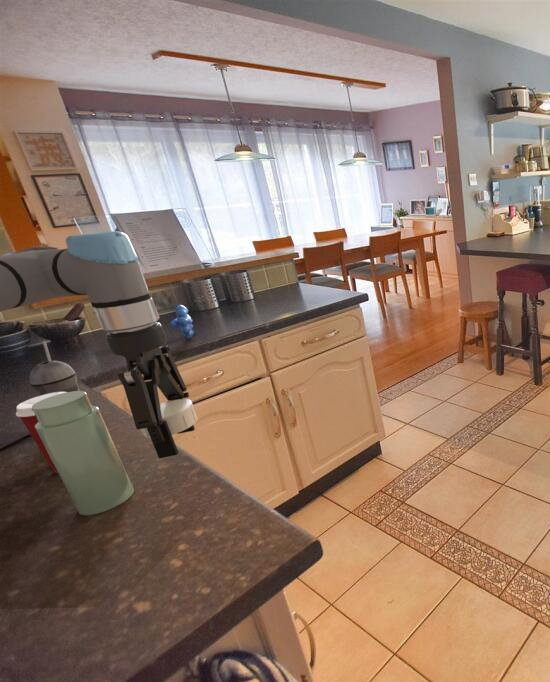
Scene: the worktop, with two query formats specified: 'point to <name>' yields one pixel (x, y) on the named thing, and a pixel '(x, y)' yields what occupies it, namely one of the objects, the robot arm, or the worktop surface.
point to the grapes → (183, 322)
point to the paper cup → (34, 422)
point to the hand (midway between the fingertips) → (178, 442)
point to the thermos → (82, 452)
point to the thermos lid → (176, 415)
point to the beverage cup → (53, 376)
